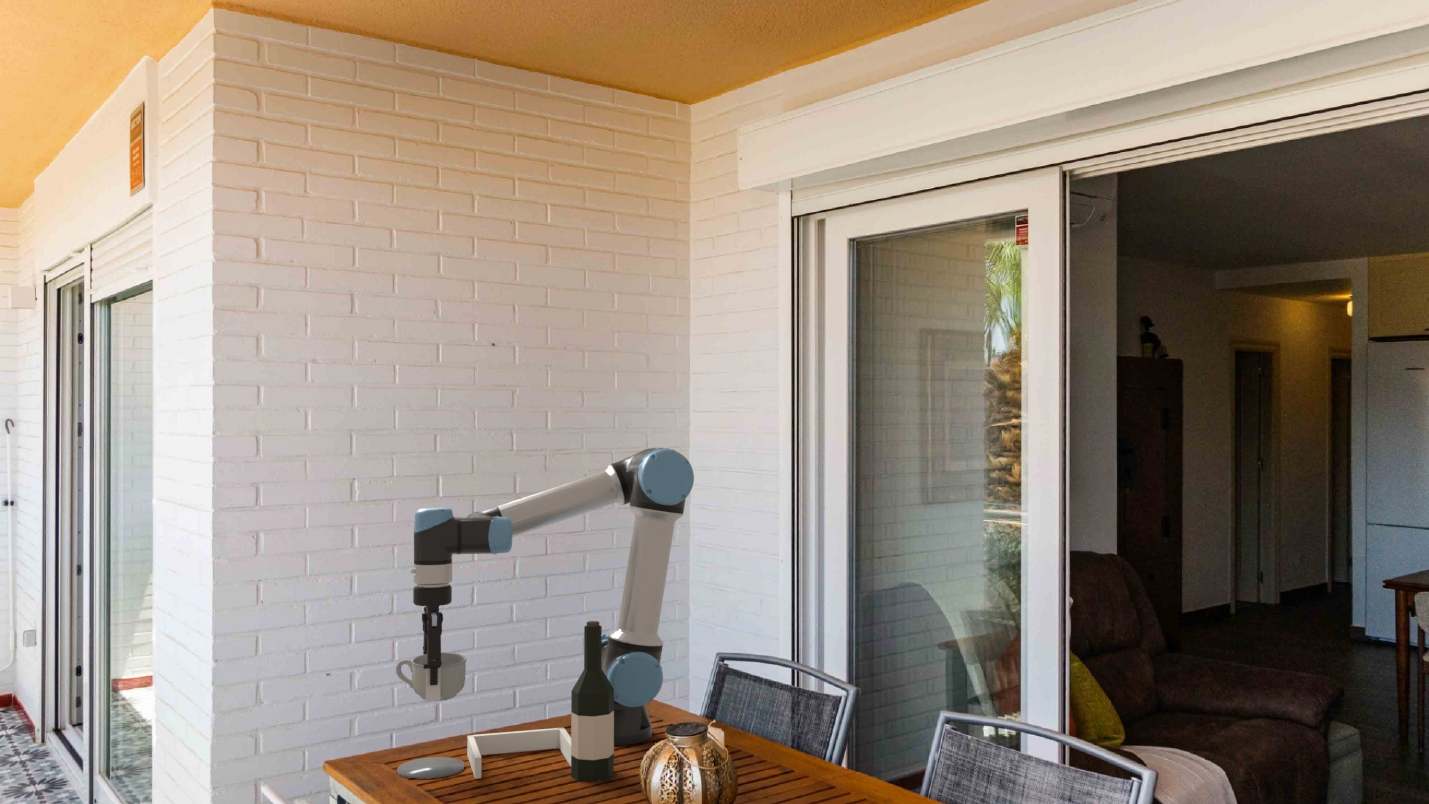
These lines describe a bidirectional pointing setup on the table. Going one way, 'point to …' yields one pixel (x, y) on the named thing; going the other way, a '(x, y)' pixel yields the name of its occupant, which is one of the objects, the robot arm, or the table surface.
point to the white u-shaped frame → (516, 744)
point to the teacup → (450, 674)
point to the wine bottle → (592, 714)
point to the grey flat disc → (430, 767)
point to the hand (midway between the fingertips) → (431, 694)
